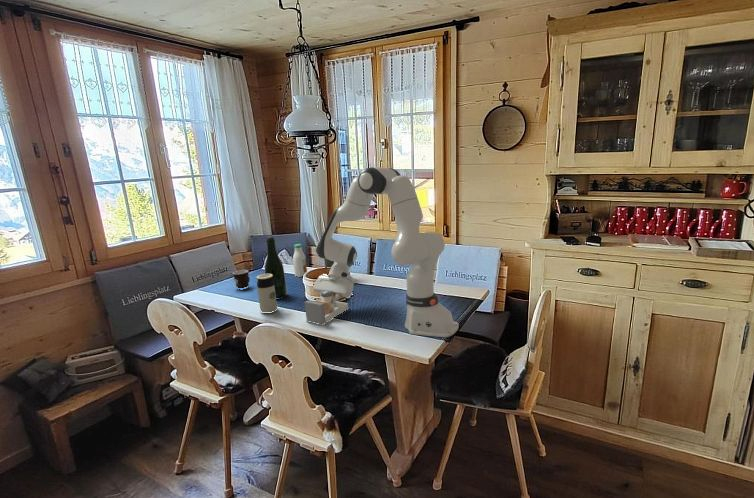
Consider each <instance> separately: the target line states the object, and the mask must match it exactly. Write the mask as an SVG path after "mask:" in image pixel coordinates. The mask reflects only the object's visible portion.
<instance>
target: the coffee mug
mask: <svg viewBox="0 0 754 498" xmlns="http://www.w3.org/2000/svg"><path fill="white" fill-rule="evenodd" d="M232 274H233V275H232V276H233V279H234V283H235V285H236V288H237V287H238V288H244V287H247V286H250V285H249V282H251V281H250V280H251V279H250V276H249V270H248V269H240V270H235V271H233V272H232Z"/></svg>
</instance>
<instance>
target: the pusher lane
mask: <svg viewBox="0 0 754 498" xmlns="http://www.w3.org/2000/svg"><path fill="white" fill-rule="evenodd" d="M304 309H305V319H306V322H307V321H311V322H315V323H319V324H324V323H326V322H327V321H329V320H331V319H332V318H334V317H336V316H337V315H339V314H341V313H342V314H344V313H345V312H347V311H349V310H348V309H350V307H349V303H348V302H343V301H338V300H337V301H336V303H335V304H334V311H333V312H331V313H329V314H328V315H326V316H325V312H324V303H319V302H316V301H312V300H306V301H304ZM346 310H347V311H346ZM344 311H345V312H344ZM343 312H344V313H343ZM342 314H341V315H342ZM339 316H340V315H339ZM337 317H338V316H337ZM337 317H336V318H337ZM334 319H335V318H334ZM331 321H332V320H331ZM329 322H330V321H329ZM326 324H327V323H326ZM324 325H325V324H324Z"/></svg>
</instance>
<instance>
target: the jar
mask: <svg viewBox="0 0 754 498" xmlns="http://www.w3.org/2000/svg"><path fill="white" fill-rule="evenodd" d="M320 294H321V301H325V302H330V310H331V312H333V311H334V304H332V303H331V300H332V299H334V295H333V291H328V290H323V291H321V292H320V293H319V295H320Z"/></svg>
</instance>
